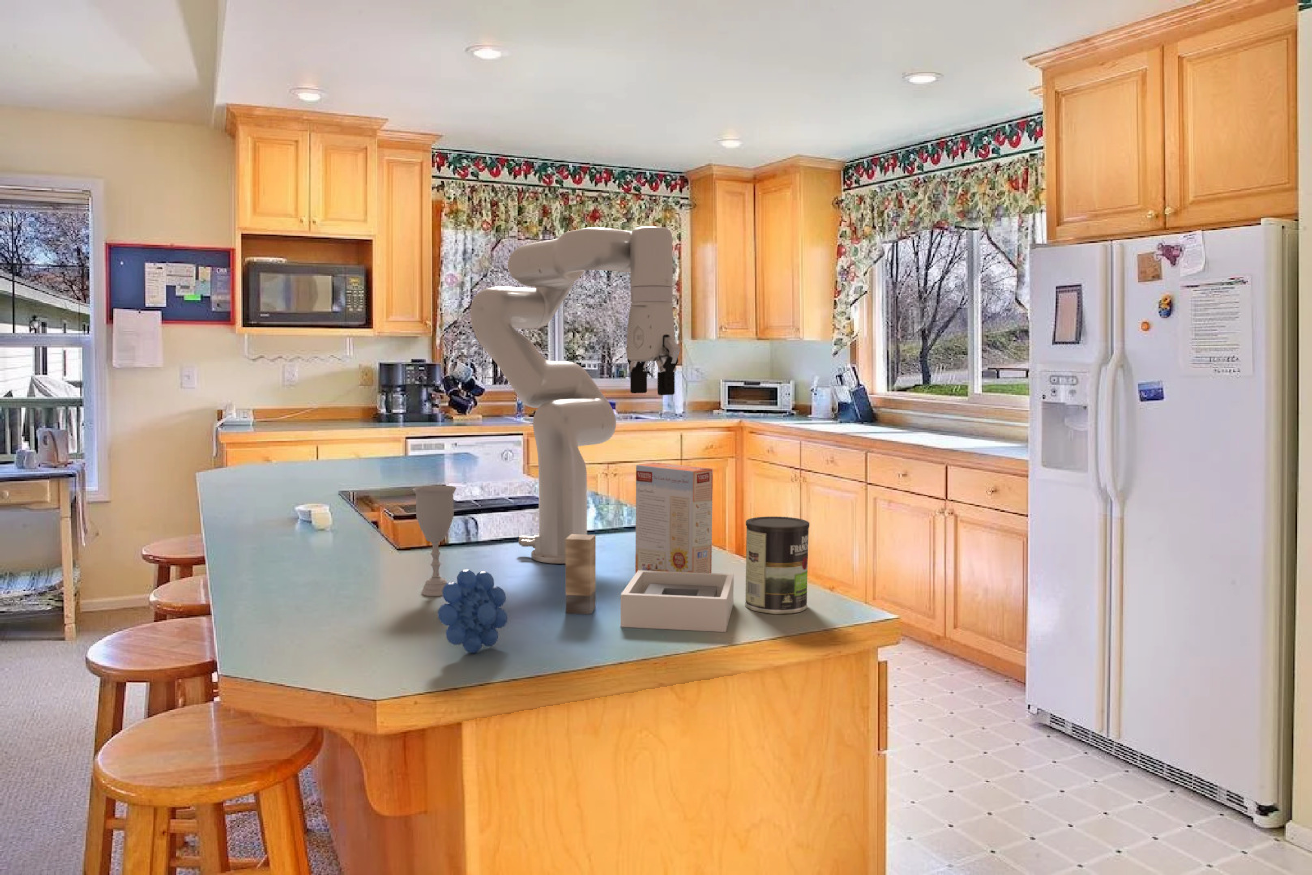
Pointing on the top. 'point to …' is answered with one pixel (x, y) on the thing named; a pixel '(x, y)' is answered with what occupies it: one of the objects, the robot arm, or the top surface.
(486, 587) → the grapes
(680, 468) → the cracker box
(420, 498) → the chalice
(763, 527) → the coffee can
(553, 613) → the top surface
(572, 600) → the peg
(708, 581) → the walled box
